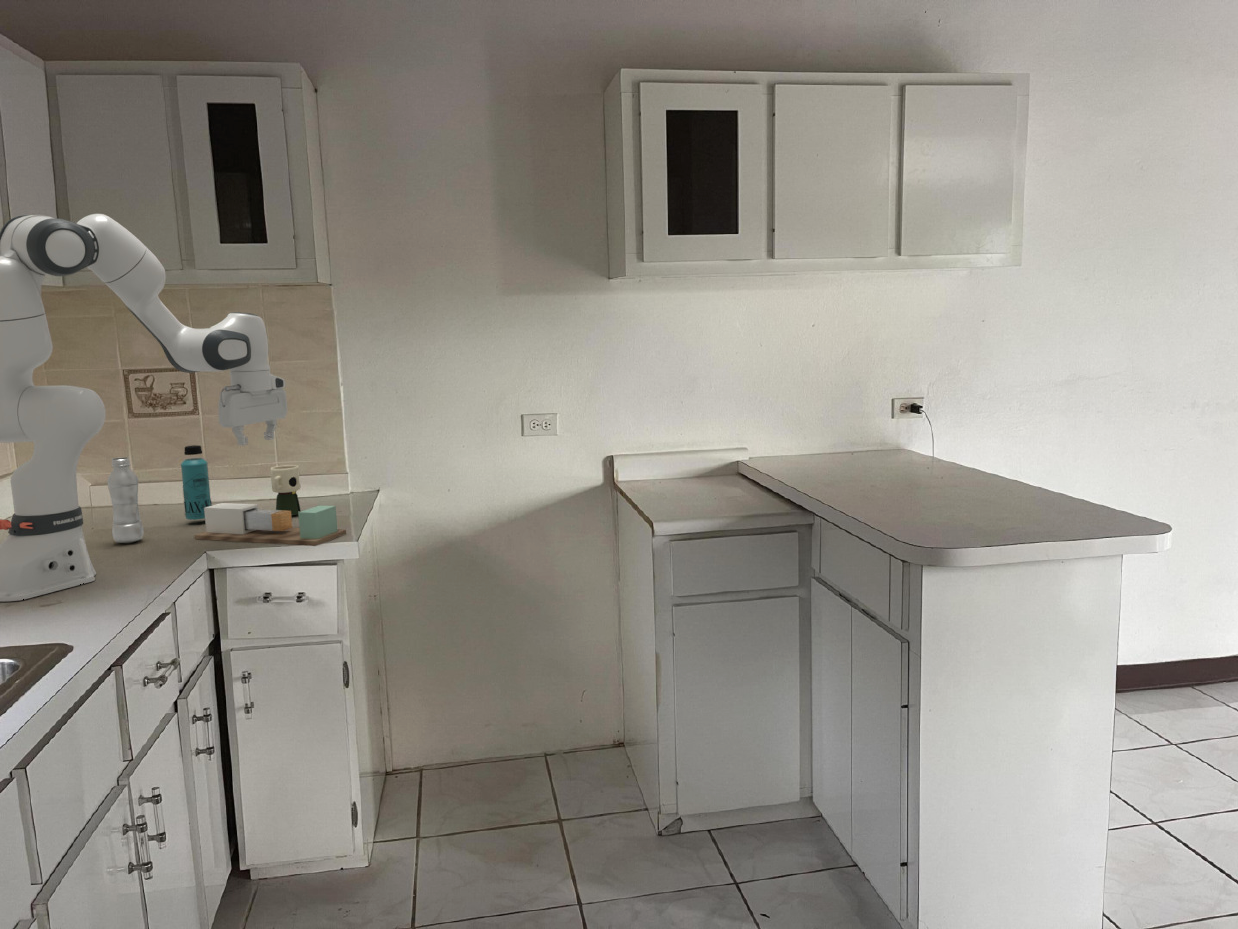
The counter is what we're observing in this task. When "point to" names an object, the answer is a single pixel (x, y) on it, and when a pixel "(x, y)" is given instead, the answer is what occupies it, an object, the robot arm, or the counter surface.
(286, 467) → the character mug
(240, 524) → the sleeve
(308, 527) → the socket
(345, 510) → the counter surface
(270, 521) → the rectangular peg
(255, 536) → the baseboard
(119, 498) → the plastic bottle
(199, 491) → the beverage bottle
